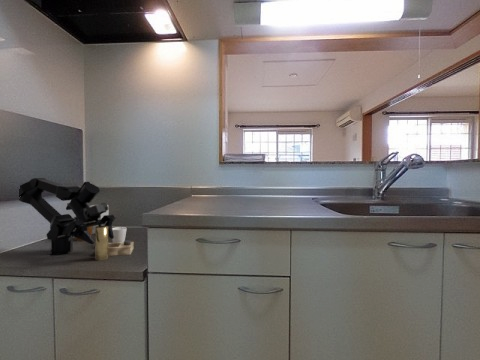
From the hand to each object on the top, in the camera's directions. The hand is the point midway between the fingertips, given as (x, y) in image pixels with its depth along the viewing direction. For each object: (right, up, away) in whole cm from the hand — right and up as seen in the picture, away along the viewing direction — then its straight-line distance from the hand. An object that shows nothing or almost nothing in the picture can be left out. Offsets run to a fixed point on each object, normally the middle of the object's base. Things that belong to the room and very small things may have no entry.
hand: (103, 240), depth 101 cm
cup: (-4, -7, +18) cm, 20 cm away
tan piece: (-1, -7, 0) cm, 7 cm away
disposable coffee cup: (-25, -6, +29) cm, 39 cm away
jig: (+1, -7, +9) cm, 11 cm away
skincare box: (-26, -6, +45) cm, 52 cm away
